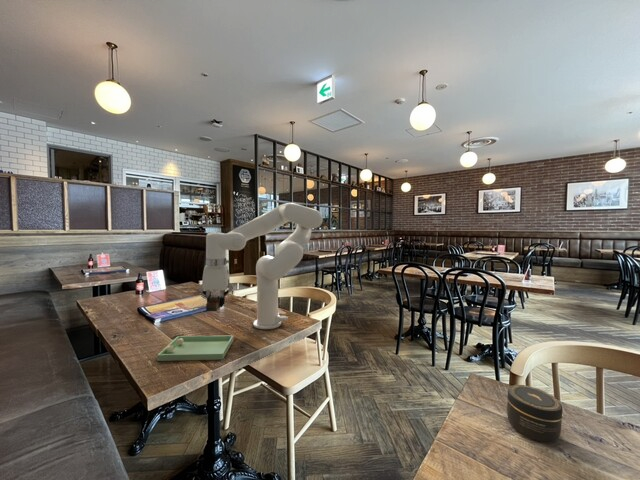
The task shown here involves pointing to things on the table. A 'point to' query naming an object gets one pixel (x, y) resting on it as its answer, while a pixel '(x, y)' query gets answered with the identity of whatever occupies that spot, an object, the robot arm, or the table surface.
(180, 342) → the crumb
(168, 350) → the crumb
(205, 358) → the tray
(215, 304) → the stepped brown post
